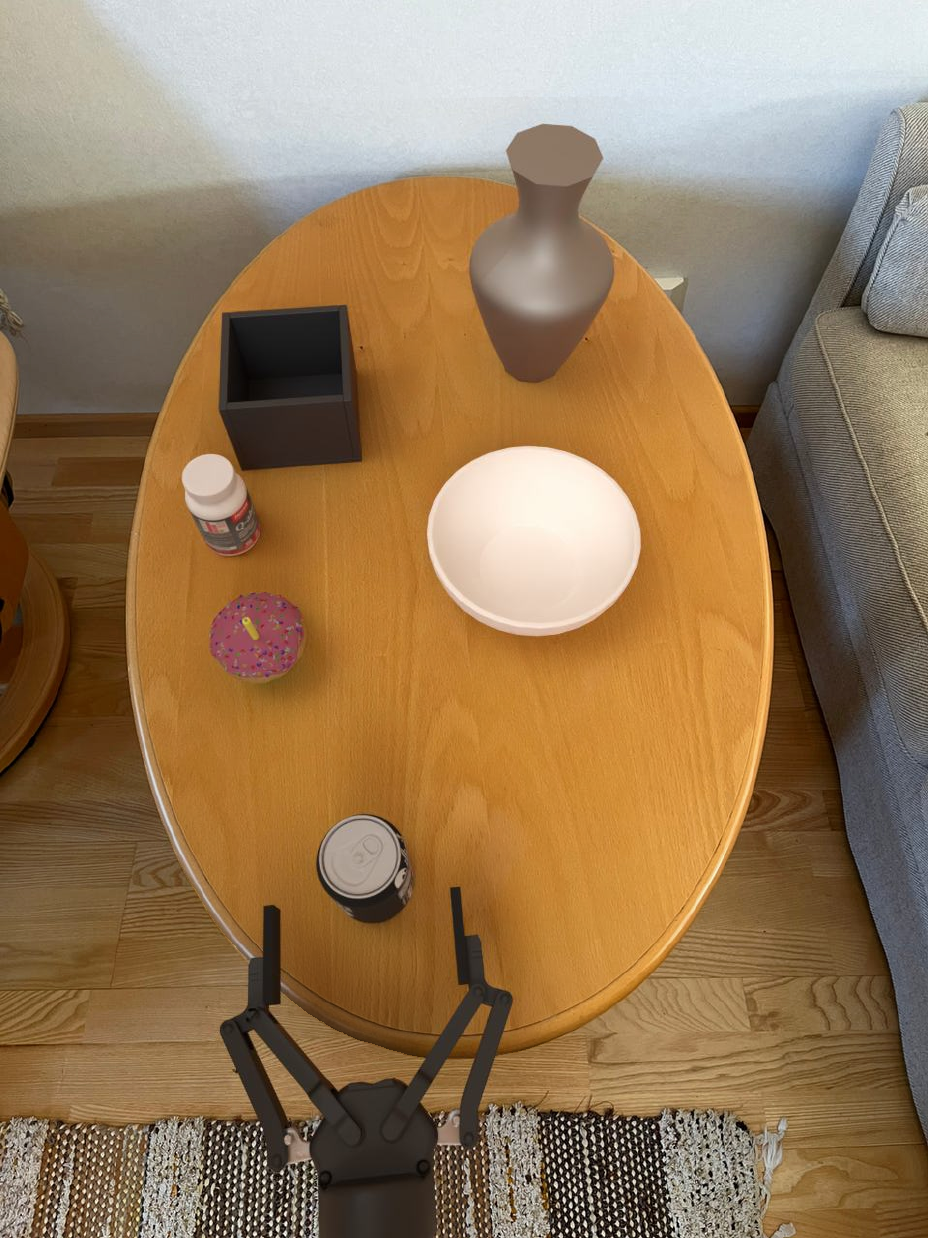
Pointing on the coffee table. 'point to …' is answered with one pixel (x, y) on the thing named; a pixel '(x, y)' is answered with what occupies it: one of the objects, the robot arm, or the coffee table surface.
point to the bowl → (533, 540)
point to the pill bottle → (220, 505)
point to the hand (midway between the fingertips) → (364, 898)
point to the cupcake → (258, 637)
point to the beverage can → (366, 868)
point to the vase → (543, 256)
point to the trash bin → (289, 387)
